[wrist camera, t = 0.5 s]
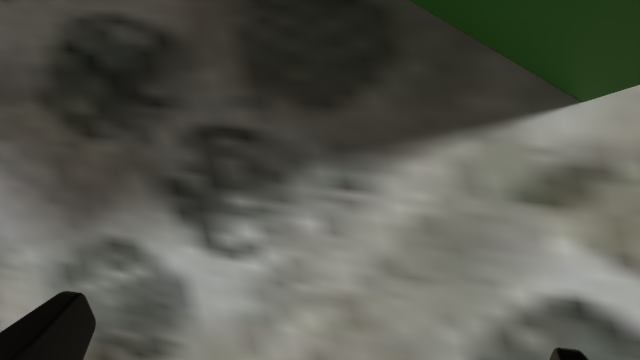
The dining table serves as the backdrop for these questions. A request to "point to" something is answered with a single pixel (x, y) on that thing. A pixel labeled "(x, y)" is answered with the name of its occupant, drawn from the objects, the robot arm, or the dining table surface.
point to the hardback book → (557, 38)
